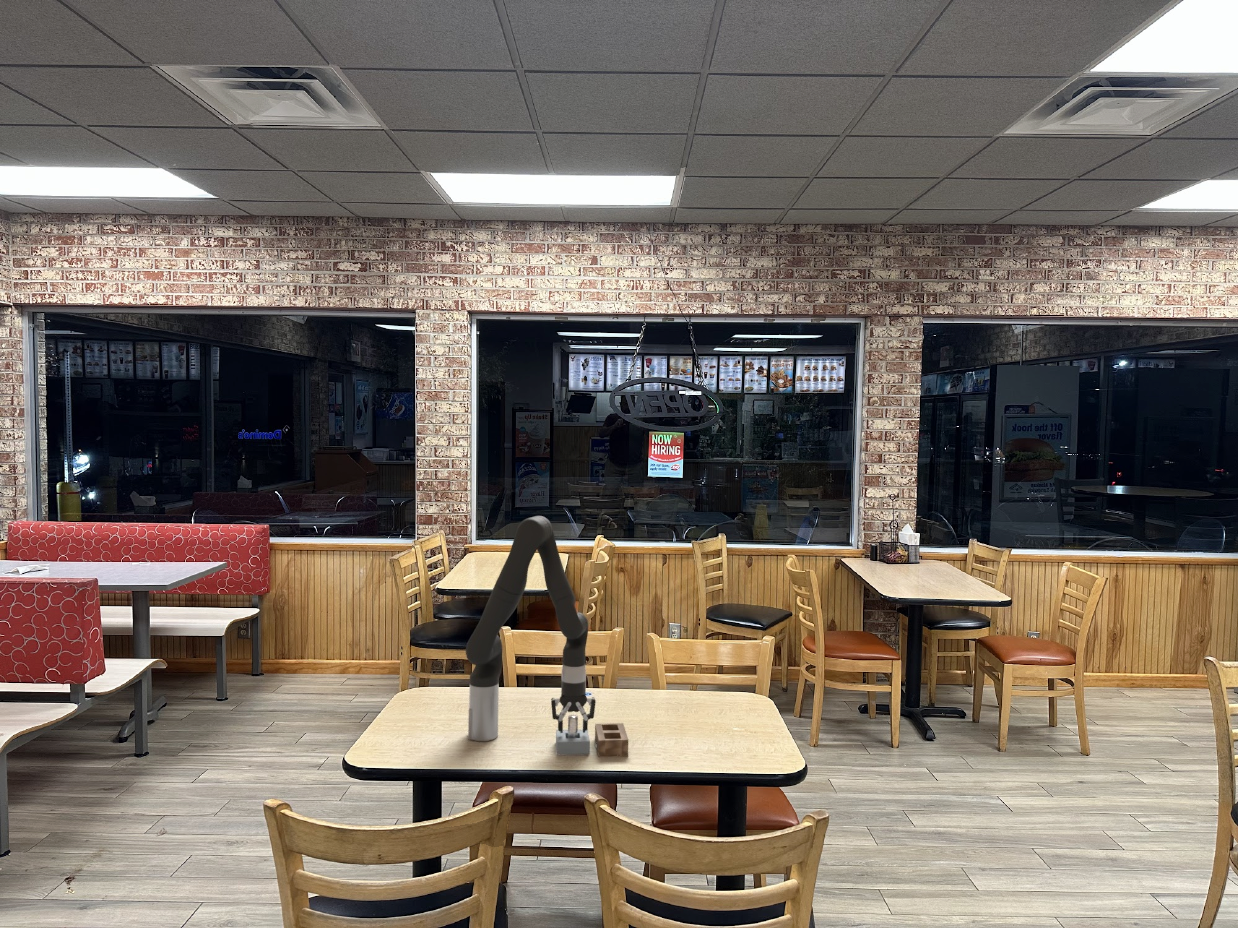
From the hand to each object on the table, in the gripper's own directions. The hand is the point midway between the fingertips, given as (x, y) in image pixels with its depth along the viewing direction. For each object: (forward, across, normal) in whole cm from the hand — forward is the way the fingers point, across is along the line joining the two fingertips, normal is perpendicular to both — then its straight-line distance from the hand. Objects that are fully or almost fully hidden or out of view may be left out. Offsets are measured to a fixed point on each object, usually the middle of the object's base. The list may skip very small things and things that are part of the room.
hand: (572, 731), depth 243 cm
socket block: (+5, 0, 0) cm, 5 cm away
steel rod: (+5, 0, 0) cm, 5 cm away
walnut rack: (+5, +12, 0) cm, 13 cm away
